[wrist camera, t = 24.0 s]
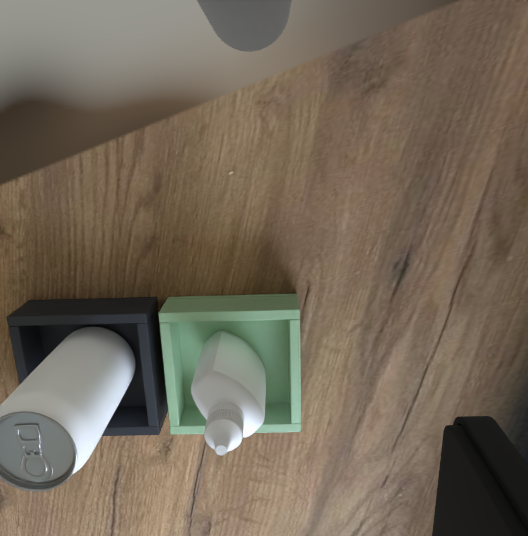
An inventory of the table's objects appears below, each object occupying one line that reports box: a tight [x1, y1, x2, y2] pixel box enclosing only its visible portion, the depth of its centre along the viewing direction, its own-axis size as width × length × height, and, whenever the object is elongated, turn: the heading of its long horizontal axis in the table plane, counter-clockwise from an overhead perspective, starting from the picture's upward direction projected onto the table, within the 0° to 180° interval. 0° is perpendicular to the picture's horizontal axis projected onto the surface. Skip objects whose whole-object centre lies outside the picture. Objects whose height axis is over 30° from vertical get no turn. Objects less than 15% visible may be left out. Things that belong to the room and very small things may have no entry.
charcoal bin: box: [7, 297, 168, 436], centre depth 39 cm, size 11×11×4 cm
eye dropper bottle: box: [191, 331, 266, 455], centre depth 34 cm, size 4×6×12 cm
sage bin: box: [158, 294, 301, 434], centre depth 39 cm, size 11×11×4 cm
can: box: [0, 327, 135, 492], centre depth 34 cm, size 6×6×12 cm
